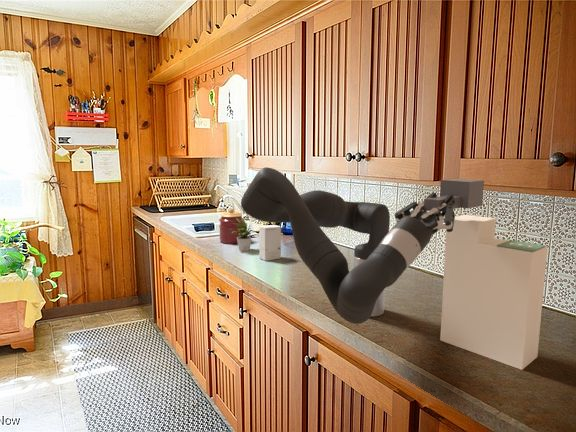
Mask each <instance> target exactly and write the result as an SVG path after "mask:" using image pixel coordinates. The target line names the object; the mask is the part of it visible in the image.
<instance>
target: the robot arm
mask: <svg viewBox="0 0 576 432" xmlns="http://www.w3.org/2000/svg"><path fill="white" fill-rule="evenodd" d="M433 197H438V196H437V193H436V192H431V194H428V195H427V196H426V198H433ZM454 204H455V199H454V197H453V195H452V194H449V195H448V196H447V197H446V198H445V200H444V201H443V202H442V204H441V205H439V206H438V207H437V208H435V207H434V208H433V209H431V210H430V211H428V210H424V200H422V201H420V202H419V203H417V201H413V202H410V203H409V204H408V205H406V206H404V207H402V208H401V209H400V210H398V211H397V212H395V213H394V218H395V221H396V223H395V225H394V226H393V227H392V228H391V229H390V225H391V224H390V223H391V219H390V217H391V214H390V211H389V208H388V207H387V205H385V204H382V203H377V202H368V201H367V202H366V201H360V202H359V201H347V200H344V199H343V197H341V196H340V195H338V194H336V193H332V192H329V191H325V190H320V189H319V190H317V189H315V190H311V191H307V192H305V193H302V194H299V192H298V190H297V188H296V187H295V186H294V185H293V182H292V181H291V180H290V179H289V178H288V177H287V176H286V175H285V174H283V173H282V172H281V171H280V170H279V171H278V170H277V169H275V168H272V167H263V168H260V169H259V171H258V172H257V173H256V174H255V176H254V178H253V179H252V181H251V183H250V184H249V185H248V187H247V188H246V190H245V192H244V194H243V195H242V198H241V201H240V206H241V208H242V210H243V211H244V213H245V214H247V215H248V216H250V217H251V218H253V219H255V220H256V221H257V220H258V221H261V222H265V223H266V222H267V223H290V227H291V231H292V236H293V242H294V245H295V248H296V252H297V254H298V256H299V257H300V259H301V261H302V262H303V263H304V265H305V266H306V267H307V268H308V269H309V271H310V272H311V273H312V275H314V277H315V278H316V279H317V280H318V282H319V283H320V285H321V288H322V289H323V291H324V293H325V295H326V297H327V298H328V300H329V302H330V304H331V306H332V307H333V309H334V310H335V312H336V313H337V314H338V315H339V316H340V317H341V318H342V319H343V320H345V321H346V322H348V323H351V324H354V325H359V324H364V323H365V322H366V321H368V320H369V319H370V317H372V318H374V317H378V316H381V315H383V314H385V313H384V312H385V295H386V292H385V289H386V288H389V287H390V286H392V285H393V284H395V283H396V282H397V281H398V279H399V278H400V277H401V276H402V274H404V272H405V271H406V270H407V268H408V267H410V266H411V265H412V264H413V262H415V260H417V258H418V257H419V255H420V254H422V252H423V250H424V249H425V248H426V247H427V245H428V244H429V243H430V241H431V239H432V237H433V235H434V234H436V233H438V232H439V230H445V231H446V230H447V232H452V231H453V226H454V219H455V217H456V215H455V209H453V205H454ZM337 227H343V228H346V229H349V230H350V231H351V230H352V231H354V232H357V233H360V234H367V235H369V236H368V241H367V242H364V243H361V244H358V245H355V247H354V253H353V255H354V257H353V268H352V269H351V270H350V269H349V263H348V260H347V258H346V257H345V255H344V254H343V253H342V252H341V250H340V249H339V248H338V247H337V246H336V245H335V243H334V242H333V241H332V240H331V239H330V238H329V236H328V235H327V234H326V233H325V231H324V230H323V229H322V228H329V229H331V228H332V229H333V228H337Z"/></svg>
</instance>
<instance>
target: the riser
mask: <svg viewBox="0 0 576 432" xmlns="http://www.w3.org/2000/svg"><path fill="white" fill-rule="evenodd" d="M496 220H497V218H496V217H495V218H493V217H487V216H480V215H479V216H478V215H470V214H462V215H458V216H455V219H454V226H453V231H452V232H447V230H446V229H445V243H444V245H445V247H444V264H443V265H444V266H443V281H442V282H443V283H442V304H441V320H440V323H441V324H440V335H439V337H440V339H439V340H440V341H441V342H444V343H446V344H449V345H452V346H455V347H457V348H461V349H463V350H466V351H468V352H471V353H474V354H477V355H479V356H482V357H486V358H488V359H490V360H494V361H497V362H499V363H501V364H505V365H507V366H510V367H513V368H516V369H519V370H521V371H522V370H524V369H525V368H526V367H527V366H528V365H529V364H531V363H533V361H534V360H535V359H536V360H537V358H538V356H539V355H538V353H539V342H540V330H541V320H542V310H543V299H544V288H545V280H546V266H547V257H548V256H547V255H548V245H547V246H546V245H544V244H538V243H531V242H524V241H520V240H511V239H510V240H508V239H501V238H496V237H495V235H496V234H495V233H496V222H497V221H496Z"/></svg>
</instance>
